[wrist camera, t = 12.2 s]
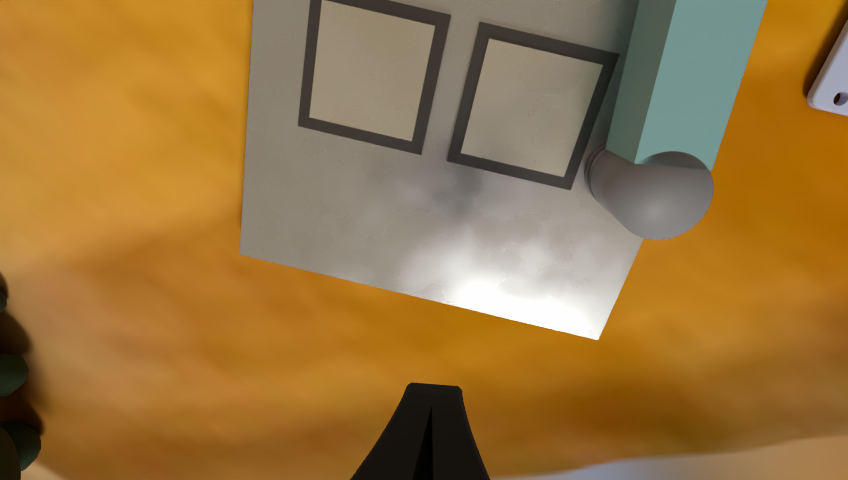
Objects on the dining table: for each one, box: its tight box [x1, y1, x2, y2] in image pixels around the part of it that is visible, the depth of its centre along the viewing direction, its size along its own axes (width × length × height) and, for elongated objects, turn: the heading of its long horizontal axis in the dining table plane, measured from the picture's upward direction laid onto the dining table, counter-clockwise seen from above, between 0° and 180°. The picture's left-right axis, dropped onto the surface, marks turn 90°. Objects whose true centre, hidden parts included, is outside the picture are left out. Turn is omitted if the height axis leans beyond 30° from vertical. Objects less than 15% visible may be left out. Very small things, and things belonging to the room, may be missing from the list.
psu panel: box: [240, 0, 644, 340], centre depth 18 cm, size 18×16×2 cm
